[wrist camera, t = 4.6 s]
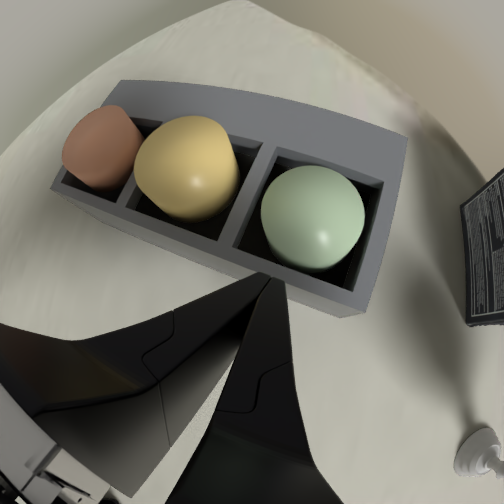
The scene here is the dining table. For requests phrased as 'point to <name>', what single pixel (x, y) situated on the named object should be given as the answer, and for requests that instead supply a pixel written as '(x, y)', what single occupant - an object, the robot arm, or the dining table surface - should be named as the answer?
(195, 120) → the button ochre
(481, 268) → the small box
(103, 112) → the button terracotta
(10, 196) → the dining table surface
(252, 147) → the grey compartment box
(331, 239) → the button sage
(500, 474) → the chalice
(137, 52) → the dining table surface
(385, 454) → the dining table surface
